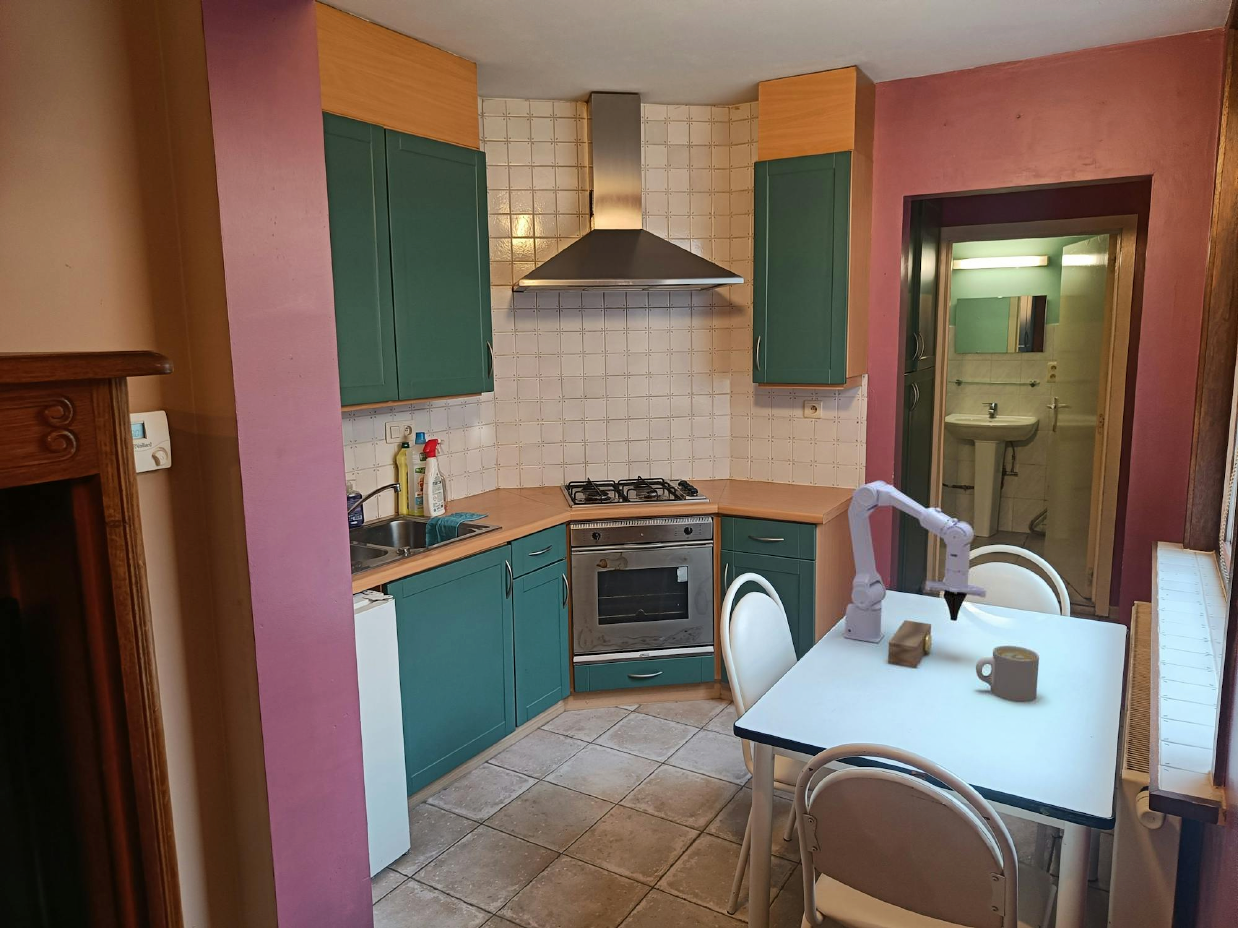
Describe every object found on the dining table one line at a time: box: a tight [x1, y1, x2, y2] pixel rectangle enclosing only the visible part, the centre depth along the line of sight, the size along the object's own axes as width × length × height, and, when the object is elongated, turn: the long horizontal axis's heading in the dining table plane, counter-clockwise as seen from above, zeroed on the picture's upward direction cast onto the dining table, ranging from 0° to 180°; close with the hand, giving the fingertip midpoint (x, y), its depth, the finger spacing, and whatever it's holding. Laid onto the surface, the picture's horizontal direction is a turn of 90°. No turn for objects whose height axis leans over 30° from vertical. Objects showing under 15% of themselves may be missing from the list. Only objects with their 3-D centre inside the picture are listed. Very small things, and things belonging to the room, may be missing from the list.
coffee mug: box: [975, 645, 1040, 703], centre depth 206 cm, size 13×10×10 cm
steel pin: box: [893, 633, 933, 654], centre depth 233 cm, size 9×5×5 cm, turn 61°
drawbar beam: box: [887, 619, 932, 669], centre depth 232 cm, size 7×20×6 cm, turn 151°
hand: (953, 619), depth 227 cm, fingers closed
